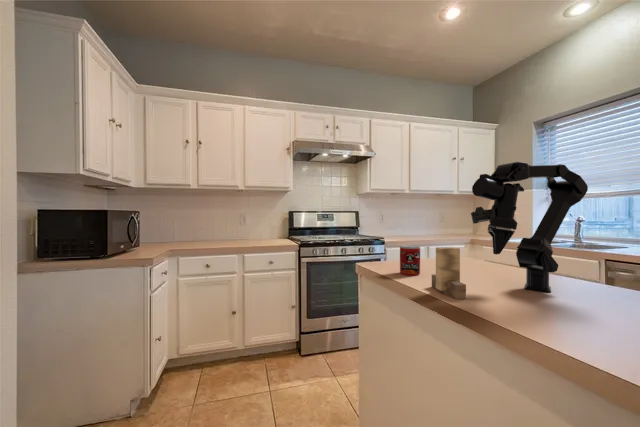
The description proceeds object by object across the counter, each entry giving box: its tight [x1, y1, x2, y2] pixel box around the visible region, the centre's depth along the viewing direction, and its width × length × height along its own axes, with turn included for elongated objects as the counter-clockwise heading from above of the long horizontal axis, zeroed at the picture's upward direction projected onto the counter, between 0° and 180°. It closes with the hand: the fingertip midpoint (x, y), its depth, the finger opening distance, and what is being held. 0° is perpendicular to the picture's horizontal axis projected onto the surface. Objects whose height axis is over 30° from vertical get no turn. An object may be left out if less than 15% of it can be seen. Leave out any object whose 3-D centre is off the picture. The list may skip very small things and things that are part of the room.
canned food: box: [399, 244, 421, 277], centre depth 112 cm, size 8×8×11 cm
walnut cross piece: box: [431, 273, 467, 300], centre depth 86 cm, size 13×3×4 cm, turn 7°
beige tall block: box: [435, 246, 461, 292], centre depth 86 cm, size 6×3×12 cm, turn 97°
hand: (496, 254), depth 86 cm, fingers open, 9 cm apart
